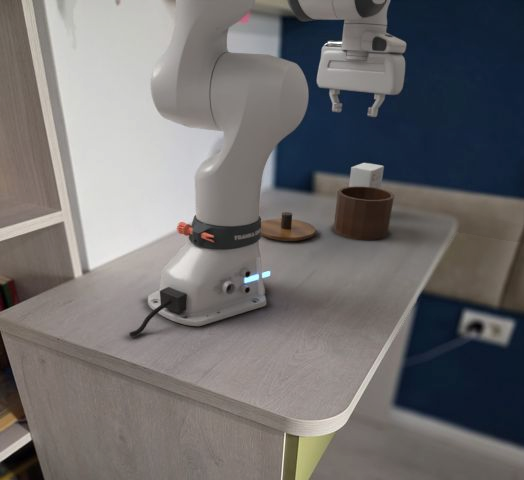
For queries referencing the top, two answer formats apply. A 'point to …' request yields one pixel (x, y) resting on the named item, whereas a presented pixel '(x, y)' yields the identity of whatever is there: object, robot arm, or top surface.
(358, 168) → the small box
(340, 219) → the round wooden container
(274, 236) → the lid
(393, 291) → the top surface
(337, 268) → the top surface
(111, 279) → the top surface
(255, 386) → the top surface
